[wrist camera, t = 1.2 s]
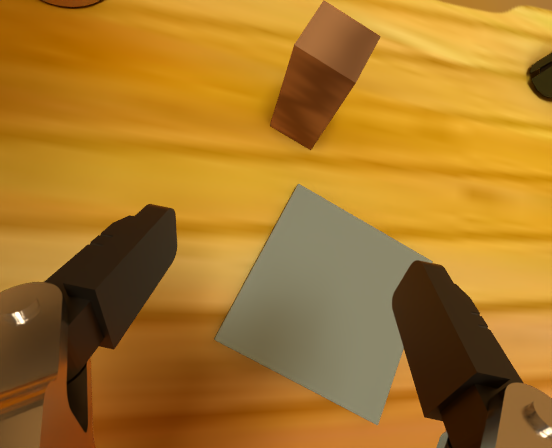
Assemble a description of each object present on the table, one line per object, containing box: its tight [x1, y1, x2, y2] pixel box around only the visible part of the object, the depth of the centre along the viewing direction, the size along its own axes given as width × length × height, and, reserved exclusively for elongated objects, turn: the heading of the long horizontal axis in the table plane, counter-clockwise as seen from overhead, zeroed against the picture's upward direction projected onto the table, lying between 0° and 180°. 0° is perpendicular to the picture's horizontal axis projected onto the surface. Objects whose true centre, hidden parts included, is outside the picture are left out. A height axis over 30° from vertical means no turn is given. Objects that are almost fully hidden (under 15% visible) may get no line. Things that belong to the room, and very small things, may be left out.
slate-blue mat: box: [214, 184, 432, 425], centre depth 25 cm, size 16×16×1 cm
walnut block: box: [270, 1, 380, 150], centre depth 24 cm, size 5×5×10 cm
